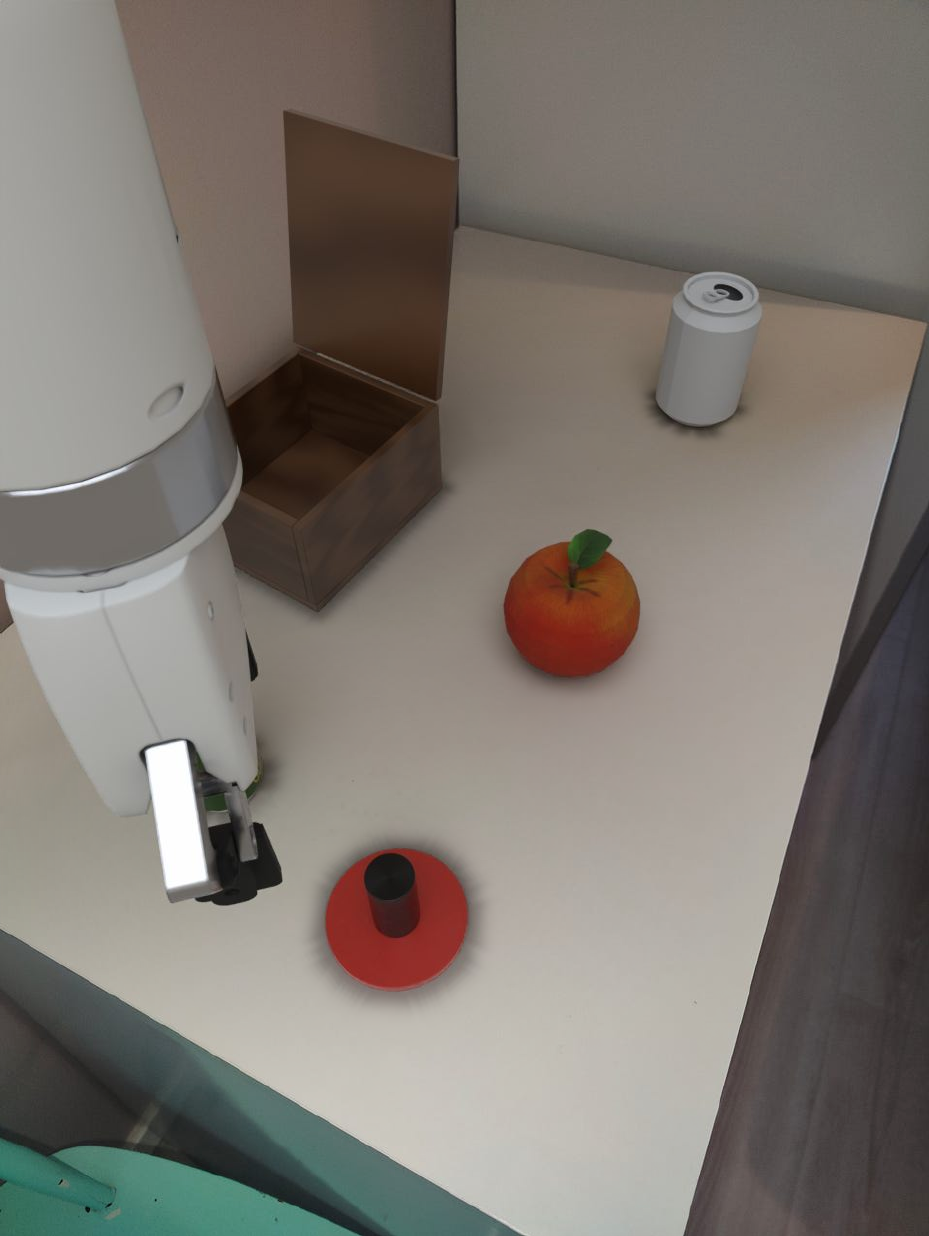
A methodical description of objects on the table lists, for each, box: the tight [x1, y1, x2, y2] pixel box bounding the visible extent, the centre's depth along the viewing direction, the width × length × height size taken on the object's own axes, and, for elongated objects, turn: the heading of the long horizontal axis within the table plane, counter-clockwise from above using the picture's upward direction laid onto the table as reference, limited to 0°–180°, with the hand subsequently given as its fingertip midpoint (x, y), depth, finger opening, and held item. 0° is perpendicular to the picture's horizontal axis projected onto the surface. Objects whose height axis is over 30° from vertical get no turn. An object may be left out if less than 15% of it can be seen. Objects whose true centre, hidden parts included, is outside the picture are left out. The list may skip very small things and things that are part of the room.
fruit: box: [502, 528, 641, 678], centre depth 63 cm, size 10×10×10 cm
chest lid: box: [282, 108, 460, 402], centre depth 67 cm, size 17×15×1 cm
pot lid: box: [324, 848, 469, 992], centre depth 51 cm, size 8×8×6 cm
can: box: [655, 271, 763, 428], centre depth 79 cm, size 8×8×12 cm
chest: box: [222, 345, 443, 613], centre depth 72 cm, size 17×15×9 cm
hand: (231, 775), depth 37 cm, fingers open, 9 cm apart
